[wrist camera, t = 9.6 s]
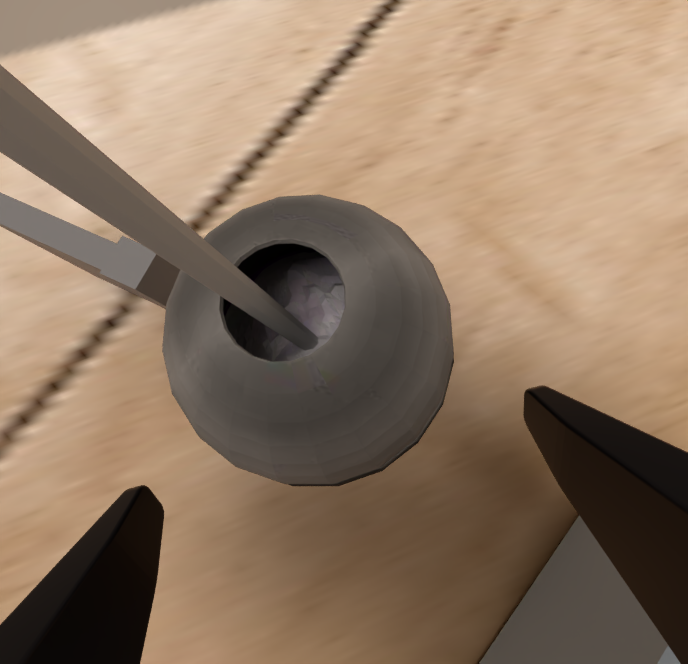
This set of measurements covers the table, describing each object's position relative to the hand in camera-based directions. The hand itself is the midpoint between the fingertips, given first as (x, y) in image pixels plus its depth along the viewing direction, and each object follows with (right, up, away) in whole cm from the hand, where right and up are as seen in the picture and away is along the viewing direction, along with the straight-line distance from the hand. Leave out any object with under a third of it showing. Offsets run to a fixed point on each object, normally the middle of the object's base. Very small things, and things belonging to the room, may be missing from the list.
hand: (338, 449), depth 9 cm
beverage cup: (0, 0, +13) cm, 13 cm away
